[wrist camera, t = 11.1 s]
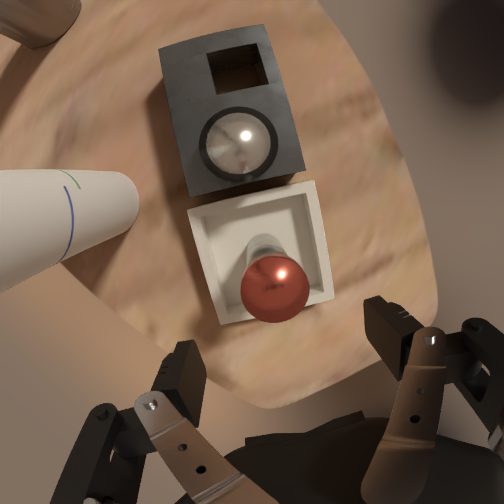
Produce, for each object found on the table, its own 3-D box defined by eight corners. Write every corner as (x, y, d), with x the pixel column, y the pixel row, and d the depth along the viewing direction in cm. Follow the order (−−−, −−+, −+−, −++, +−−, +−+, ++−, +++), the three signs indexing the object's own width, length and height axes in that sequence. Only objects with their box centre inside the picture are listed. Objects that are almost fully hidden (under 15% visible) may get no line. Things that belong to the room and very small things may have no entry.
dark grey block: (199, 195, 28) (181, 199, 20) (171, 67, 24) (147, 34, 16) (295, 172, 27) (314, 168, 19) (261, 46, 24) (265, 6, 16)
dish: (222, 312, 31) (220, 325, 28) (192, 207, 28) (186, 210, 25) (327, 288, 30) (334, 298, 27) (307, 180, 27) (314, 179, 24)
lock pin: (248, 275, 29) (249, 329, 18) (238, 234, 28) (232, 267, 17) (289, 265, 29) (314, 313, 18) (281, 224, 28) (303, 250, 17)
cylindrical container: (99, 244, 29) (-81, 350, 4) (78, 189, 27) (-116, 225, 3) (149, 220, 28) (-63, 328, 4) (126, 160, 26) (-97, 147, 2)
